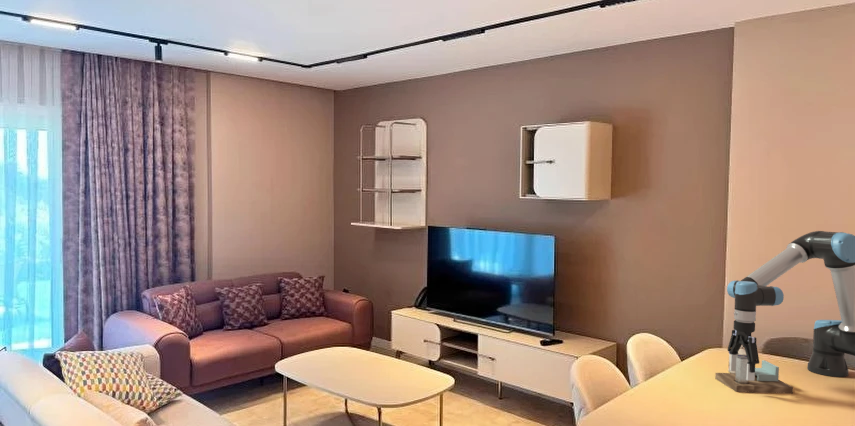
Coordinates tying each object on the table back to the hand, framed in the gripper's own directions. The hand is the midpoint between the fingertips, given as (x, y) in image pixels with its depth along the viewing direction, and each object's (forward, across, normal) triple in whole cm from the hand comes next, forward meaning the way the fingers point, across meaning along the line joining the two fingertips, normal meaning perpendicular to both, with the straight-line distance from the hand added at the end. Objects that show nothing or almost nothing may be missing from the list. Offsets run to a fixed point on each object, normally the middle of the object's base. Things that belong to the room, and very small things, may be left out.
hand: (741, 375), depth 240 cm
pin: (+5, 0, 0) cm, 5 cm away
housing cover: (+2, -7, +12) cm, 13 cm away
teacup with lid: (+5, -21, +10) cm, 24 cm away
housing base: (+5, -4, +6) cm, 9 cm away
